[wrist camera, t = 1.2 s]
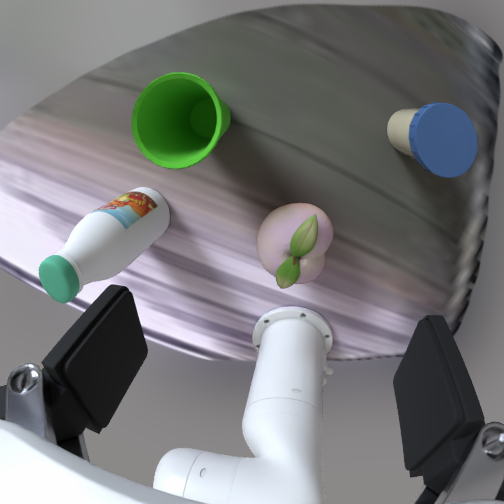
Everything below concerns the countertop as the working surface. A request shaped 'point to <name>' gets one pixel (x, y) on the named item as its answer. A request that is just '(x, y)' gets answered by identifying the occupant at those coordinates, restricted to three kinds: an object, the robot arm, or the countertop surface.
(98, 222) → the milk bottle
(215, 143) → the cup
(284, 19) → the countertop surface
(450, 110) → the jar lid
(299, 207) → the decorative fruit
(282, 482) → the robot arm
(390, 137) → the jar
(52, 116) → the countertop surface
